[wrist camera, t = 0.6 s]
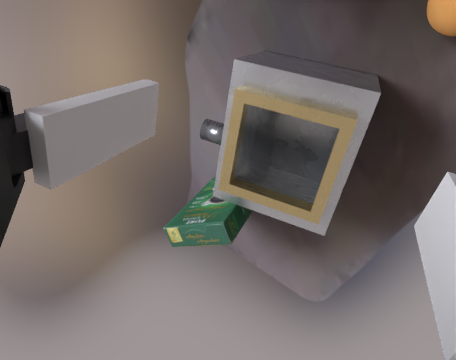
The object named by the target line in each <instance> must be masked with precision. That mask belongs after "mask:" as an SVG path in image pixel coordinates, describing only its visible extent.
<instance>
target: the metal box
mask: <svg viewBox="0 0 456 360" xmlns="http://www.w3.org/2000/svg"><path fill="white" fill-rule="evenodd" d="M380 95H381V90H380V85H379V80H378V75H375V74H370V73H366V72H361V71H357V70H352V69H348V68H343V67H338V66H334V65H329V64H325V63H320V62H316V61H311V60H306V59H302V58H297V57H293V56H288V55H284V54H279V53H274V52H270V51H263V52H259V53H255V54H252V55H248V56H244V57H240V58H237V59H234V64H233V70H232V77H231V83H230V90H229V96H228V102H227V109H226V115H225V121H224V124H223V123H220V122H216V121H213V120H209V119H206V120H205V121H204V122H203V124H202V126H201V130H200V138H201V139H203V140H206V141H209V142H213V143H216V144H219V145H221V147H220V153H219V160H218V166H217V172H216V179H215V185H214V192H213V196H214V197H217V198H219V199H222V200H225V201H228V202H231V203H233V204H236V205H239V206H242V207H245V208H247V209H250V210H253V211H256V212H259V213H261V214H264V215H267V216H270V217H273V218H275V219H278V220H281V221H284V222H287V223H289V224H292V225H295V226H298V227H301V228H303V229H306V230H309V231H312V232H315V233H317V234H320V235H323V236H325V233H326V231H327V228H328V226H329V223H330V221H331V218H332V216H333V213H334V211H335V208H336V206H337V203H338V201H339V198H340V195H341V193H342V190H343V188H344V185H345V183H346V180H347V178H348V175H349V173H350V170H351V168H352V165H353V163H354V160H355V158H356V155H357V153H358V150H359V148H360V145H361V143H362V140H363V138H364V135H365V133H366V130H367V128H368V125H369V123H370V120H371V118H372V115H373V113H374V110H375V108H376V105H377V102H378V100H379V97H380Z"/></svg>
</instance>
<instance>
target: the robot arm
mask: <svg viewBox="0 0 456 360" xmlns="http://www.w3.org/2000/svg"><path fill="white" fill-rule="evenodd" d="M158 88H159V83H157V82H154V81H150V80H147V79H144V80H140V81H136V82H132V83H128V84H124V85H120V86H116V87H112V88H108V89H104V90H100V91H97V92H92V93H89V94H84V95H81V96H76V97H73V98H69V99H65V100H61V101H57V102H53V103H49V104H45V105H41V106H37V107H33V108H29V109H25V110H24V113H22V114H18V115H15V116H14V112H13V107H12V100H11V95H10V89H8V88H7V87H4V86H1V85H0V247H1V244H2V241H3V239H4V236H5V233H6V231H7V228H8V225H9V222H10V220H11V217H12V214H13V212H14V209H15V206H16V204H17V201H18V198H19V195H20V193H21V190H22V187H23V185H24V182H25V179H24V178H25V177H24V171H26V170H29V169H31V168H33V173H34V181H35V183H37V184H40V185H42V186H44V187H46V188H49V189H53V188H55V187H57V186H59V185H61V184H63V183H64V182H67V181H68V180H70V179H72V178H74V177H76V176H78V175H80V174H82V173H84V172H85V171H87V170H89V169H91V168H93V167H95V166H97V165H98V164H101V163H102V162H104V161H106V160H108V159H110V158H112V157H114V156H116V155H118V154H120V153H122V152H124V151H125V150H127V149H129V148H131V147H133V146H135V145H137V144H139V143H141V142H143V141H144V140H146V139H148V138H150V137H152V136H154V135H155V130H156V115H157V102H158ZM414 228H415V233H416V237H417V242H418V246H419V250H420V255H421V259H422V263H423V268H424V272H425V276H426V281H427V285H428V289H429V294H430V298H431V303H432V307H433V311H434V315H435V320H436V324H437V329H438V333H439V337H440V342H441V346H442V351H443V355H444V359H445V360H456V174H454V173H451V172H447V173H446V175H445V177H444V178H443V180H442V181H441V183H440V185H439V186H438V188H437V190H436V191H435V193H434V194H433V196H432V198H431V199H430V201H429V202H428V204H427V206H426V207H425V209H424V211H423V212H422V214H421V215H420V217H419V219H418V220H417V222H416V223H415V225H414Z"/></svg>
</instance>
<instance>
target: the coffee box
mask: <svg viewBox="0 0 456 360" xmlns="http://www.w3.org/2000/svg"><path fill="white" fill-rule="evenodd" d="M215 179H216V178H214V179H212V180H211V181H210V182H209V183H208V184H207V185H206V186H205V187H204V188H203V189H202V190H201V191H200V192H199V193H198V194H197V195H196V196H195V197H194V198H193V199H192V200H191V201H190V202H189V203H188V204H187V205H186V206H185V207H184V208H183V209H182V210H181V211H180V212H179V213H178V214H177V215H176V216H175V217H174V218H173V219H172V220H171V221H170V222H169V223H168V224H167V225H166V226H165V227H164V230H165V232H166V234H167V236H168V238H169V241H170V243H171V245H172V247H182V246H205V245H227V244H232V242H233V241H234V239H235V238H236V236H237V234H238V233H239V231H240V230H241V228H242V227H243V225H244V224H245V222H246V220H247V219H248V217H249V216H250V214H251V212H252V211H253V210H250V209H247V208H245V207H242V206H239V205H236V204H233V203H231V202H228V201H225V200H222V199H219V198H217V197H214V196H213V192H214V185H215Z"/></svg>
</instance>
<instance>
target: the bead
mask: <svg viewBox="0 0 456 360" xmlns="http://www.w3.org/2000/svg"><path fill="white" fill-rule="evenodd" d="M427 18H428V21H429V23H430V25H431V26H432V27H433V28H434V29H435V30H436V31H437V32H439V33H441V34H443V35H447V36H456V0H428V4H427Z"/></svg>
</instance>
